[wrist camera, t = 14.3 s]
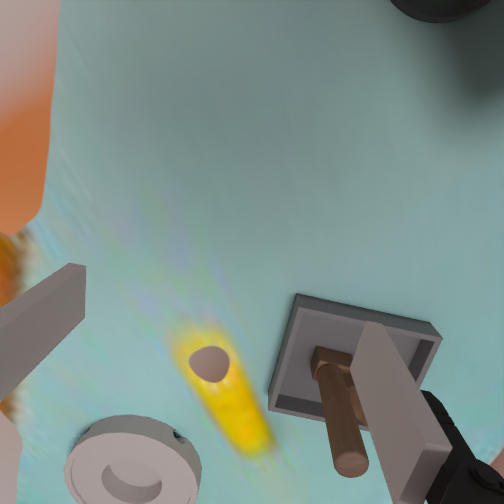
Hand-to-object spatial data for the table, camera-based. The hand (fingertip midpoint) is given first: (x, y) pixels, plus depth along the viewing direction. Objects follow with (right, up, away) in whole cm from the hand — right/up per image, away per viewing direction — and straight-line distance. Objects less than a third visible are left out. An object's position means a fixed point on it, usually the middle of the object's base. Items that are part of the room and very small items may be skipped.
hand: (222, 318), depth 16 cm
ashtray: (-19, -35, +47) cm, 62 cm away
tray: (+16, -13, +37) cm, 43 cm away
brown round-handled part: (+16, -14, +36) cm, 42 cm away
